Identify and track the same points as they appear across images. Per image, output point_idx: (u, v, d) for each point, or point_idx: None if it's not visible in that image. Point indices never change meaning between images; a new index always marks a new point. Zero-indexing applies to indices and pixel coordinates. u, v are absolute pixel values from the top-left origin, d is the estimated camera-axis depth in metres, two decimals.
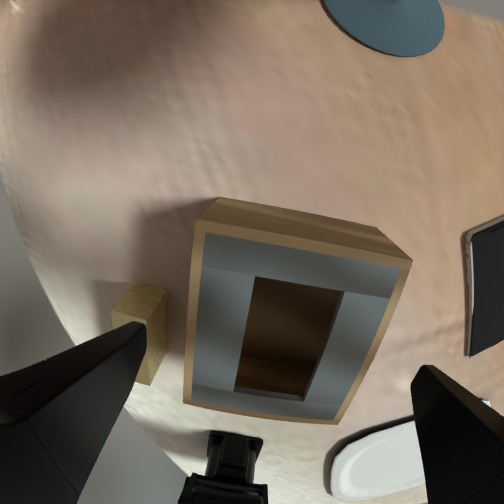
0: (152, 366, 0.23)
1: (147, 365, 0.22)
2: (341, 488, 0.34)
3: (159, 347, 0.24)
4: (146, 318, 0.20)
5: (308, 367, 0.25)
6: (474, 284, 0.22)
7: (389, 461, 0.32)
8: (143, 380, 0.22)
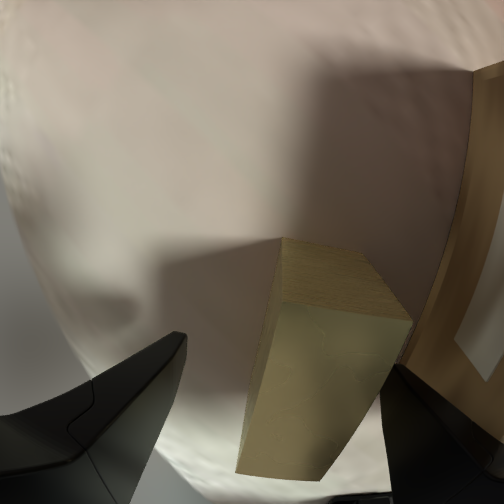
0: None
1: (341, 446, 0.07)
2: None
3: None
4: (407, 316, 0.06)
5: None
6: None
7: None
8: (307, 474, 0.08)
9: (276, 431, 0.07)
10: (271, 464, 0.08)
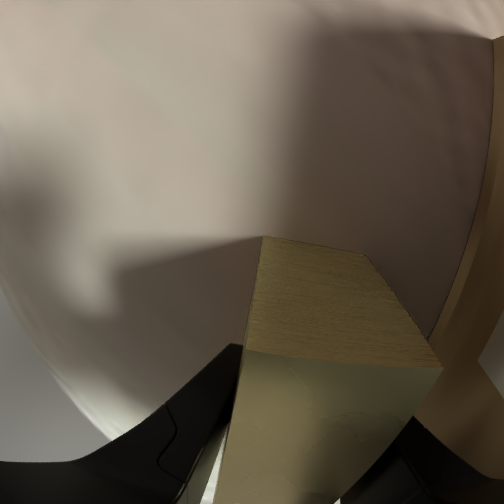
0: None
1: (335, 498, 0.05)
2: None
3: None
4: (435, 360, 0.04)
5: None
6: None
7: None
8: None
9: (252, 487, 0.05)
10: None
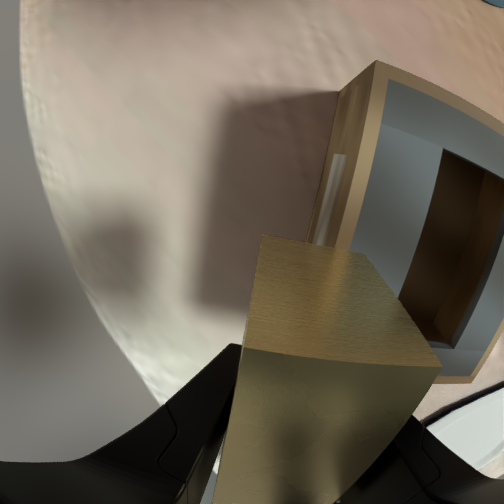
0: None
1: (334, 498, 0.05)
2: None
3: None
4: (433, 359, 0.04)
5: (418, 322, 0.19)
6: None
7: (453, 446, 0.26)
8: None
9: (251, 486, 0.05)
10: None
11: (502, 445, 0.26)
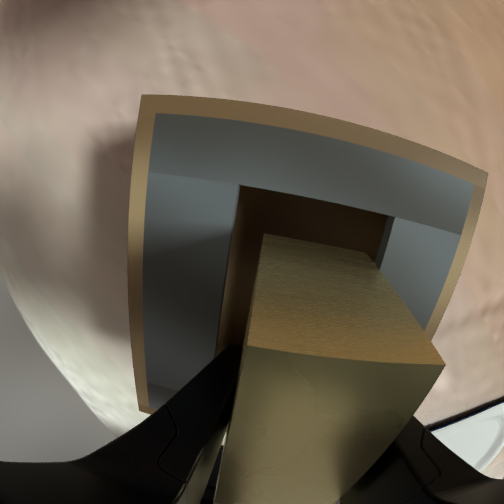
0: None
1: (336, 497, 0.05)
2: None
3: None
4: (437, 357, 0.04)
5: None
6: None
7: None
8: None
9: (253, 486, 0.05)
10: None
11: (476, 468, 0.25)
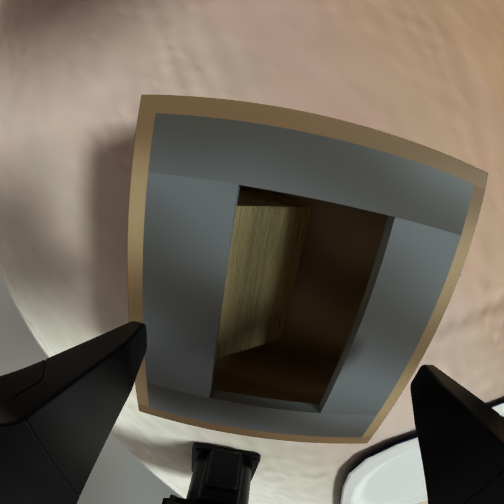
0: None
1: None
2: None
3: (253, 311, 0.13)
4: None
5: (321, 362, 0.18)
6: None
7: (410, 473, 0.25)
8: None
9: None
10: None
11: None
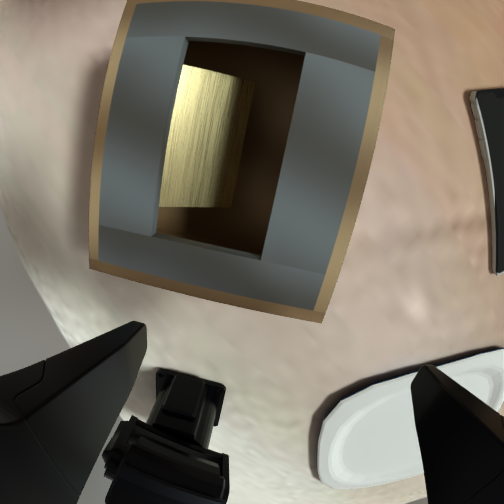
0: (163, 175, 0.13)
1: None
2: (331, 470, 0.28)
3: (202, 164, 0.14)
4: None
5: None
6: (491, 159, 0.15)
7: (393, 434, 0.26)
8: None
9: None
10: None
11: None
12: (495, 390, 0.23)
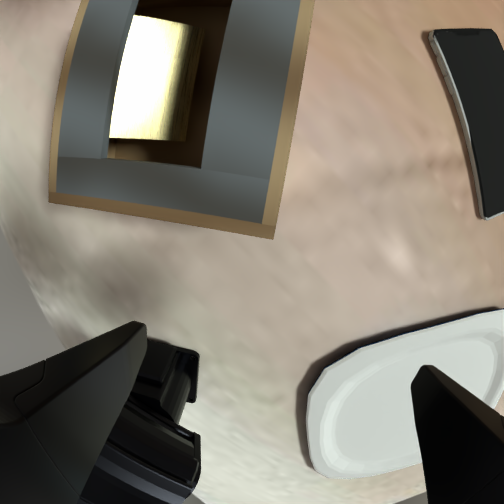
0: (117, 108, 0.13)
1: None
2: (325, 456, 0.27)
3: (154, 99, 0.14)
4: None
5: None
6: (459, 94, 0.15)
7: (391, 413, 0.25)
8: None
9: None
10: None
11: None
12: (500, 361, 0.22)
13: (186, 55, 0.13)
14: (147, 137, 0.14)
